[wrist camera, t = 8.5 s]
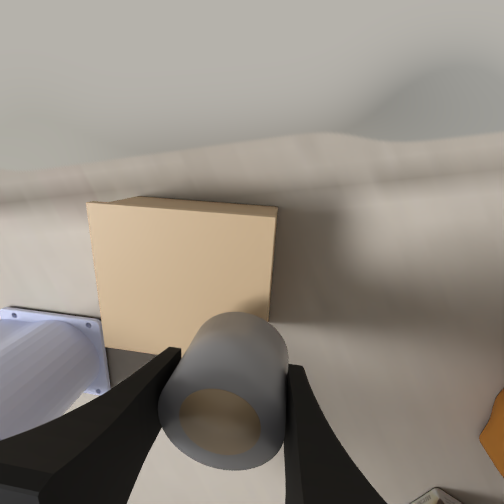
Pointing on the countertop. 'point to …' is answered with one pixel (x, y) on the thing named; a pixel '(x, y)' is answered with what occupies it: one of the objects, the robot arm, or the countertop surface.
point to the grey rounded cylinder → (229, 394)
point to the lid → (176, 271)
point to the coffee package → (495, 434)
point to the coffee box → (436, 498)
